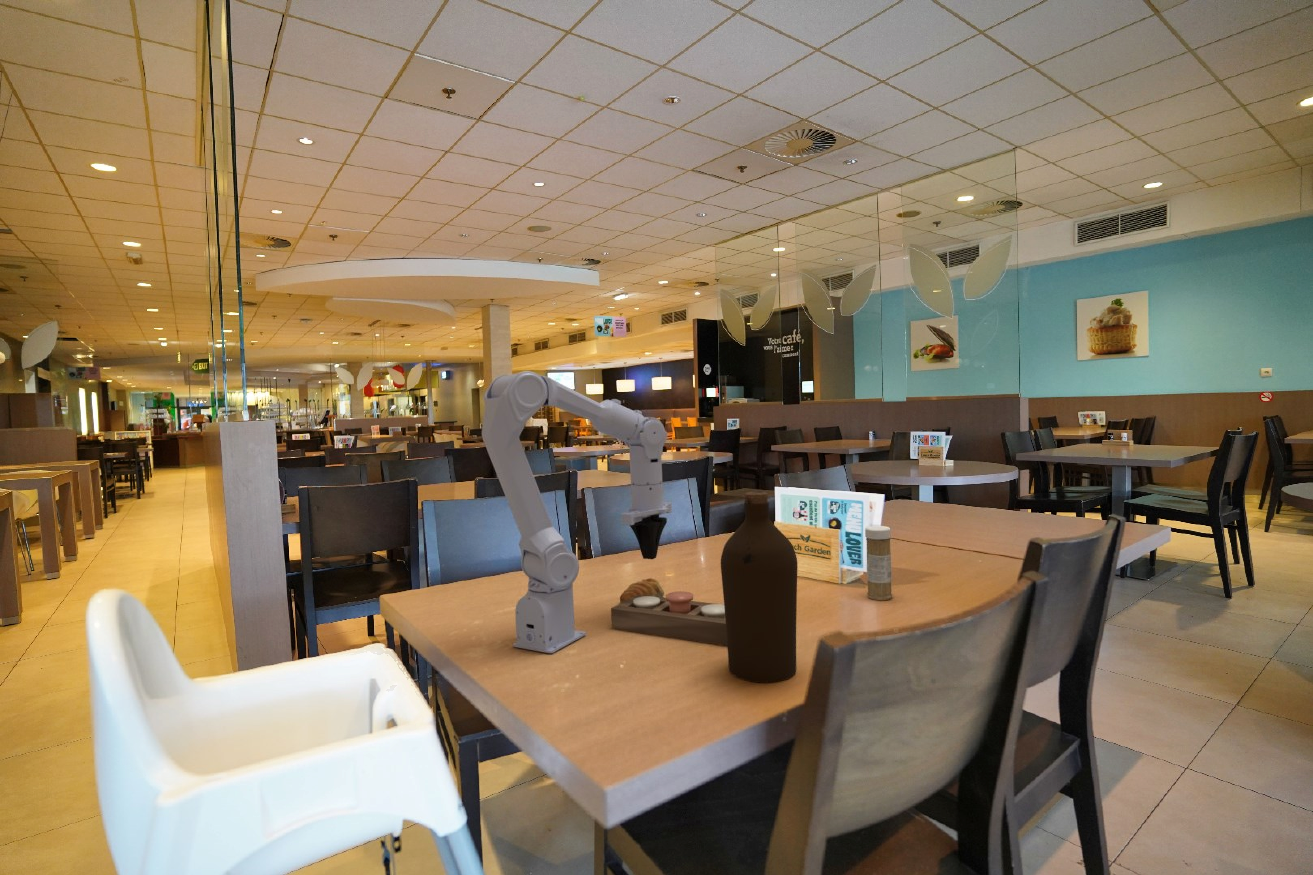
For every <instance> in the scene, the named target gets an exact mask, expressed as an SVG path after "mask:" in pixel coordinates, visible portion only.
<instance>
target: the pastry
mask: <svg viewBox="0 0 1313 875" xmlns="http://www.w3.org/2000/svg"><path fill="white" fill-rule="evenodd" d="M636 595H645V596H654V597H662V598H664V596H665V591H664V590H663V587H662V586H661V584H660V582H659V581H658V579H657V580H656V579H654V578H651V577H649V578H645V579H644V578H643V579H641V580H640V581H637V582H633V583H631V584H630V585H629V586H628V587H627V588H626V589H625V590H624V591H623V592H622V593H621V595H620V596H619V602H620V604H621V603H622V602H624V601H626V600H628V599H630V598H632V597H634V596H636Z"/></svg>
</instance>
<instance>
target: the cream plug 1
mask: <svg viewBox="0 0 1313 875" xmlns="http://www.w3.org/2000/svg"><path fill="white" fill-rule="evenodd" d="M633 603H634V606H637V608H643V609H651V610H653V609H654V608H656V607H657V605H659V604H660V599H659V598H658V597H653V596H644V597H638V598H636V599H634V600H633Z"/></svg>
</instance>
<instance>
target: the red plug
mask: <svg viewBox="0 0 1313 875" xmlns="http://www.w3.org/2000/svg"><path fill="white" fill-rule="evenodd" d="M665 598H666V600H667V601H669V610H670V612H674V613H682V614H688V613H689V612H691V602H690V601H694V594H693V593H692V592H688V591H673V592H672V591H671V592H669V593H667V594H665Z"/></svg>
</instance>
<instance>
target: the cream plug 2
mask: <svg viewBox="0 0 1313 875" xmlns="http://www.w3.org/2000/svg"><path fill="white" fill-rule="evenodd" d="M721 604H722V603H721ZM721 604H720V603H714V604H710V605H705V606H703V607H702V608H701V613H702V614H704V616H705V617H713V618H721V619H724V618H725V608H724V604H722V605H721Z"/></svg>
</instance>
